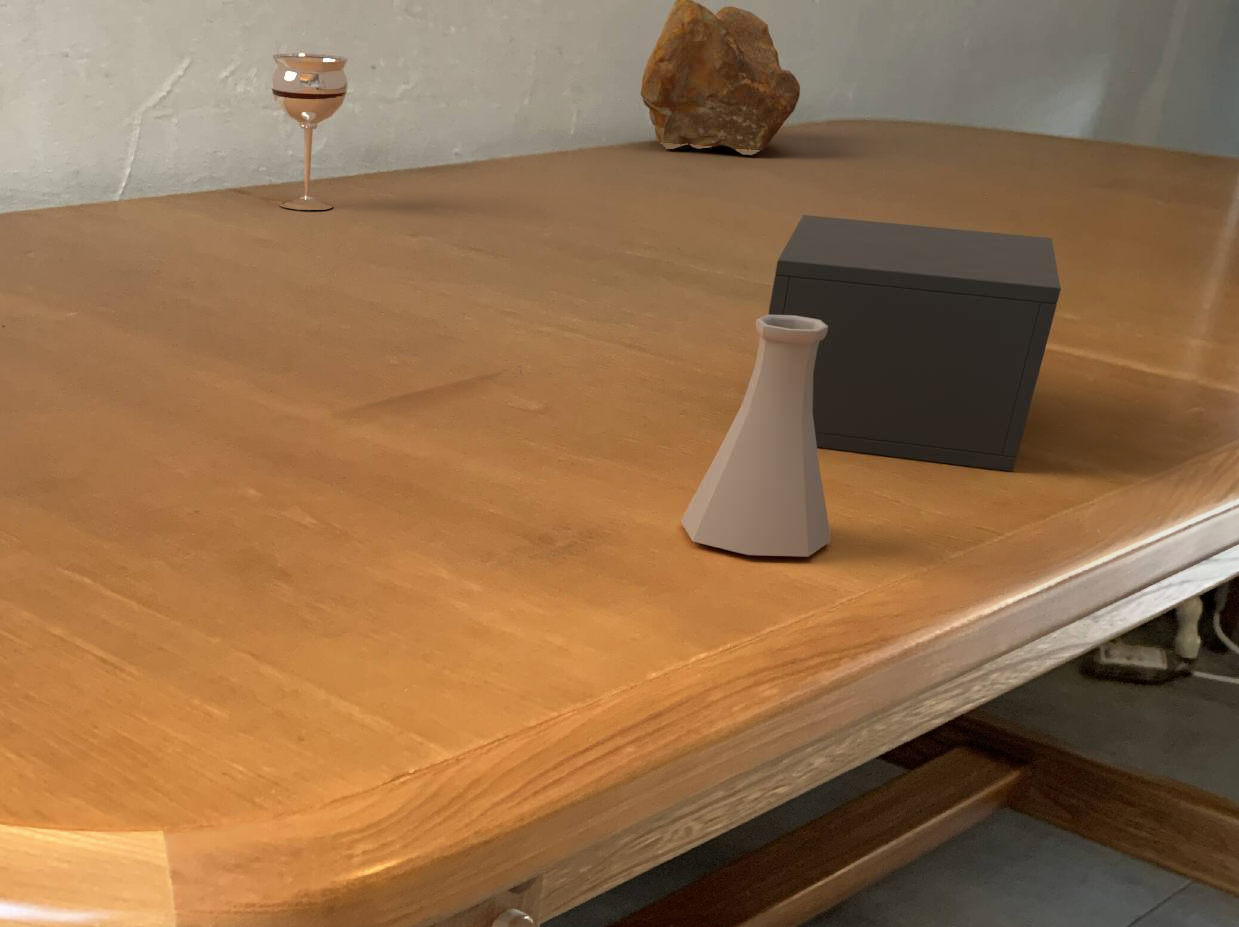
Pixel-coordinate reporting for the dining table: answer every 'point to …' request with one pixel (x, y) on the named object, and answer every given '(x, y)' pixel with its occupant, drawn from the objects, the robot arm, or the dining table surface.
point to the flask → (769, 455)
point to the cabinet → (921, 335)
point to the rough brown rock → (717, 80)
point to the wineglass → (309, 93)
